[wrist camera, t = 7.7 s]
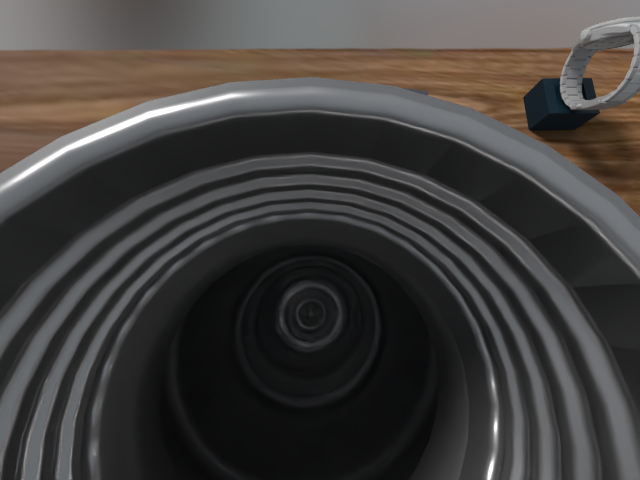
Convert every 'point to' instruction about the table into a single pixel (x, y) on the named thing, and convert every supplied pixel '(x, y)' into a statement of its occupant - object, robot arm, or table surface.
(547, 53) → the table surface
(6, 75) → the table surface
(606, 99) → the watch
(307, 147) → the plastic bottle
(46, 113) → the table surface
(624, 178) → the table surface
